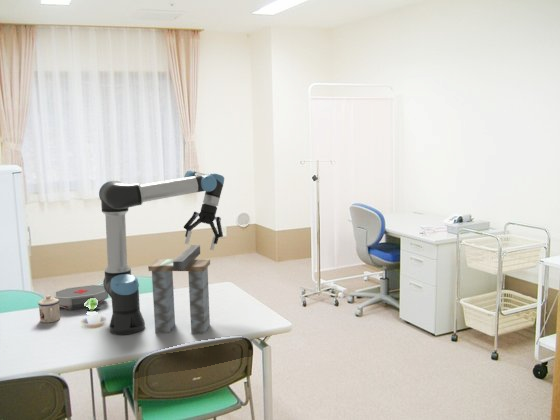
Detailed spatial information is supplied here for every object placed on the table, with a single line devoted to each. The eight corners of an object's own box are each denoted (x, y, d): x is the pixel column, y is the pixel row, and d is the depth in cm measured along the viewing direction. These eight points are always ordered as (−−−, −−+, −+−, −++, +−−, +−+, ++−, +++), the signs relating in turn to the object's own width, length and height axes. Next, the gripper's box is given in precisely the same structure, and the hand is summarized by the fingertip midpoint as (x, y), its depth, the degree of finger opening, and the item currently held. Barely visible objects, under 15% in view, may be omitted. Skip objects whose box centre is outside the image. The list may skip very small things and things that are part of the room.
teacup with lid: (38, 318, 255) (36, 295, 253) (59, 315, 259) (57, 291, 258) (41, 326, 245) (39, 302, 243) (63, 322, 249) (61, 298, 247)
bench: (152, 333, 234) (148, 265, 230) (160, 323, 246) (157, 258, 241) (206, 334, 232) (203, 266, 227) (212, 324, 244) (209, 258, 239)
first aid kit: (106, 297, 286) (55, 303, 276) (105, 283, 285) (54, 289, 275) (109, 306, 270) (56, 314, 260) (108, 292, 269) (54, 299, 259)
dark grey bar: (173, 271, 222) (173, 261, 221) (191, 253, 251) (191, 245, 250) (183, 271, 221) (182, 261, 221) (200, 253, 251) (199, 245, 250)
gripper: (184, 198, 265) (173, 240, 262) (230, 208, 258) (219, 251, 255) (190, 201, 272) (179, 242, 269) (235, 211, 265) (225, 253, 262)
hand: (199, 247), depth 262 cm, fingers open, 13 cm apart
